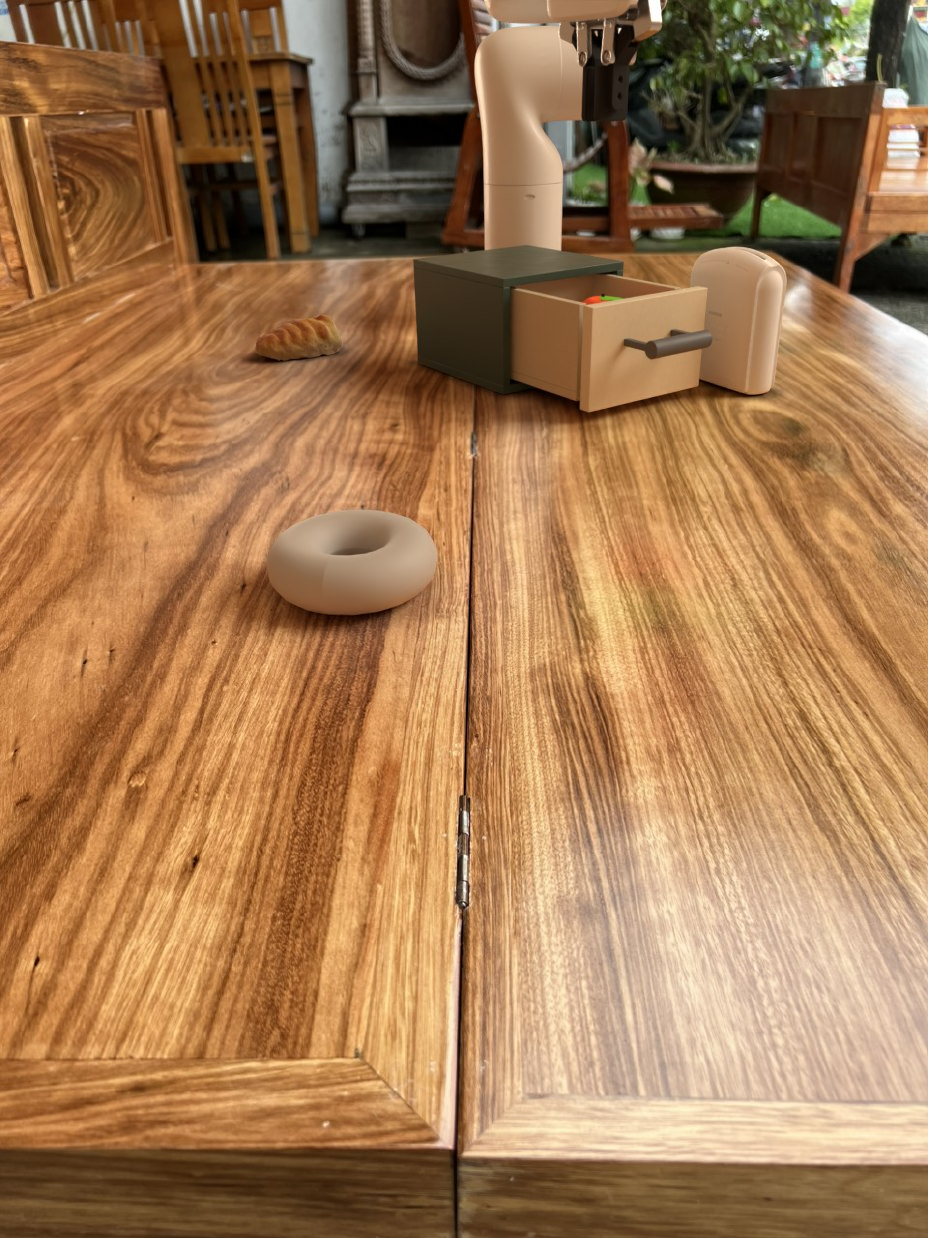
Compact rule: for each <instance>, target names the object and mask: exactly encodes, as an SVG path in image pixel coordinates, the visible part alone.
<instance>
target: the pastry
mask: <svg viewBox="0 0 928 1238" xmlns="http://www.w3.org/2000/svg"><path fill="white" fill-rule="evenodd" d="M342 345H343V338H342V337H341V335H340V331H339V329H338V328H337V327H336V324H335V321H334V320H333V318H331V316H329V315H327V314H319V315H314V316H313V317H306V318H295V319H291V320H289V321H288V322H286V323H282V324H281V325H280V326H278V327H276V328H274V329H271V330H269V331H268V332H267V333H264V334H263V335H262V336H259V337H258V338H257V340H256V342H255V350H254V351H255V355H257V356H263V357H266V358H270V359H274V360H277V361H278V362H279V361H281V360H282V361H285V362H286V361H289V360H300V359H302V358H303V359H304V358H317V357H320V356H321V355H326V356H331V355H334V354H336V353H338V352H340V349H341V347H342Z"/></svg>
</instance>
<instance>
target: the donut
mask: <svg viewBox="0 0 928 1238" xmlns="http://www.w3.org/2000/svg"><path fill="white" fill-rule="evenodd" d="M438 558H439V552H438V547H437V546H436V543H435V541H434V540H433V538H432V537H431V534H430V533H429V531H428V530H427V529H426V528H424V527H423V526H422V525H420V524H419V523H418V522H416V521H414V520H413V519H411V518H410V517H407V516H403V515H401V514H398V513H395V512H390V511H383V510H378V509H377V510H376V509H344V510H343V509H342V510H335V511H329V512H325V513H321V514H316V515H313V516H311V517H308V518H306V519H303V520H301V521H297V522H296V523H293V524H292V525H290V526H289V527H288V528H286V529H284V530H283V531H282V532H281V533H280V534H279V535H277V537H275V539H274V541H273V543H272V544H271V547H270V548H269V550H268V552H267V555H266V563H265V565H266V571H267V576H268V577H267V578H268V580H269V583H270V585H271V586H272V587H273V589H274V590H275V592H277V593H278V594H279V595H280V596H281V597H282V598H283V599H284V600H285V601H286V602H288V603H290V604H291V605H294V606H296V607H298V608H301V609H303V610H305V611H308V612H313V613H318V614H322V615H329V616H356V615H364V614H371V613H378V612H381V611H385V610H388V609H392V608H396V607H398V606H401V605H403V604H404V603H407V602H409V601H410V600H412V599H414V598H415V597H417V596H418V595H419V594H420V593H422V591H423V590H424V589H425V588H426V587H427V586H428V585H429V584H430V583H431V582H432V580H433V578H434V576H435V575H436V574H435V573H436V569H437V564H438Z"/></svg>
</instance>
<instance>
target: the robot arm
mask: <svg viewBox="0 0 928 1238" xmlns="http://www.w3.org/2000/svg"><path fill="white" fill-rule="evenodd" d="M483 3H484V6H485V9H486V10H487V12H488V14H489V15H490V16H491V18H493V19H494V20H496V21H498V22H502V23H506V24H507V23H509V24H522V26H511V27H510V26H509V27H504V28H501V29H498V30H495V31H493V32H491V33H489V34H488V35H487V36H486V37H484V38H483V39H482V41H481V42H480V43H479V45H478V47H477V50H476V52H475V57H474V69H473V70H474V73H473V74H474V83H475V90H476V97H477V104H478V110H479V118H480V126H481V128H480V129H481V140H482V157H483V160H482V161H483V213H484V214H483V215H484V217H483V219H484V220H483V222H484V225H483V226H484V230H483V231H484V250H490V249H498V248H506V247H514V246H522V245H530V246H536V247H542V248H548V249H554V250H560V251H562V232H563V231H562V230H563V228H562V227H563V190H564V189H563V188H564V168H563V167H564V166H563V161H562V157H561V155H560V153H559V150H558V149H557V147H556V146H555V144H554V143H553V142H552V140H551V139H550V137H549V136H548V134H547V133H546V132H545V130H544V129H543V127H542V126H543V124H544V123H552V122H569V121H571V122H572V121H582V122H597V123H601V122H602V123H603V122H622V121H623V122H624V121H625V120H627V118H628V105H629V87H630V86H629V84H630V70H631V69H630V68H631V67H630V66H633V65H634V64H635V63H636V60H637V55H638V50H639V48H640V47H641V46H642V43H644V40H647V39H648V38H650V37H652V36H653V35H655V34H657V33H658V32H660V31H661V30H662V27H663V15H662V11H664V9H665V8H666V5H667V3H668V0H483ZM523 24H524V25H525V24H526V25H525V26H523ZM527 24H529V25H527ZM530 24H532V25H530ZM533 24H559V25H533Z"/></svg>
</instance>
